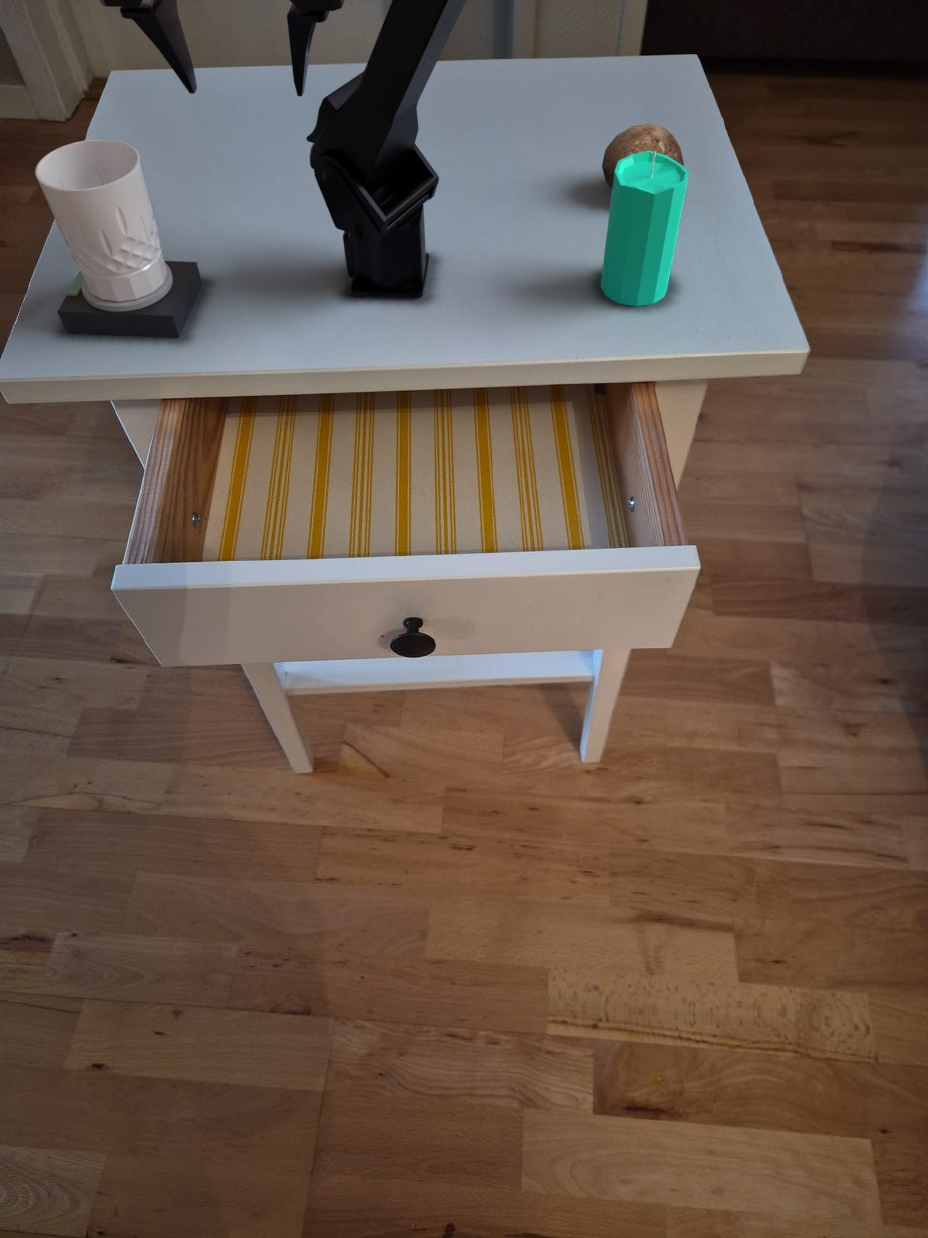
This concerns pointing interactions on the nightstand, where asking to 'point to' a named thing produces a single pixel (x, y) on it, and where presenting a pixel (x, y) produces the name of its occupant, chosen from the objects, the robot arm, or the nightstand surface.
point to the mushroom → (639, 147)
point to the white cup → (105, 216)
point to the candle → (642, 227)
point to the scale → (134, 307)
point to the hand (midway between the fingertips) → (247, 92)
